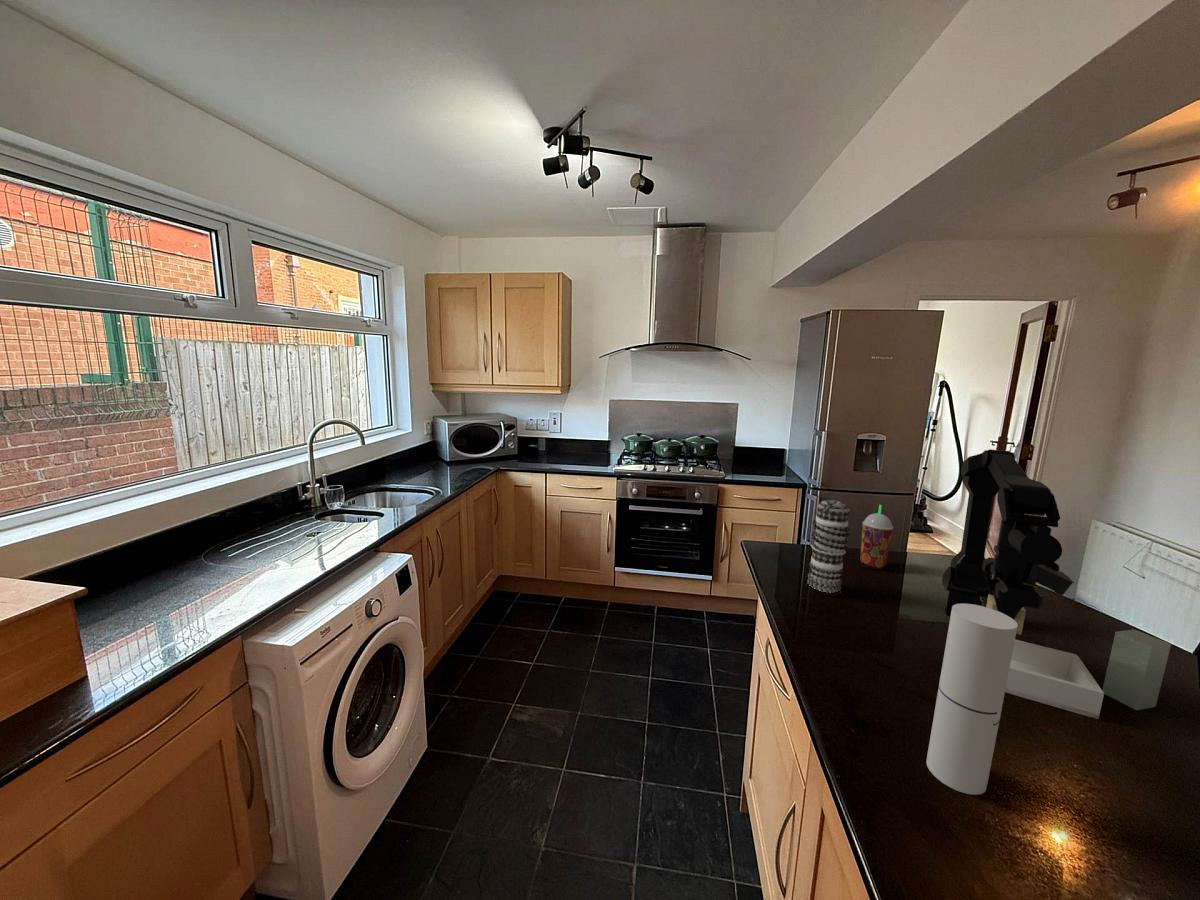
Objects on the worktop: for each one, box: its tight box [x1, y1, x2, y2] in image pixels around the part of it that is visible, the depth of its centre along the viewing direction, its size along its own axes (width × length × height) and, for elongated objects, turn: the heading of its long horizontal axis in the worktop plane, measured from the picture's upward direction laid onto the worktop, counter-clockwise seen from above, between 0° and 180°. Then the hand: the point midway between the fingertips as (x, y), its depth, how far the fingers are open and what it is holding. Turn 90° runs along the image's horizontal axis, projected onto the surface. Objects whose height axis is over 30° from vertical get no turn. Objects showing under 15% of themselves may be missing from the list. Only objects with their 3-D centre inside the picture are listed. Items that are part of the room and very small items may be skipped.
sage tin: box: [1101, 628, 1172, 711], centre depth 87 cm, size 5×5×12 cm
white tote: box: [1005, 639, 1105, 720], centre depth 93 cm, size 18×14×5 cm
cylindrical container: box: [926, 604, 1018, 796], centre depth 68 cm, size 7×7×25 cm
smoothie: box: [859, 504, 894, 568], centre depth 147 cm, size 8×8×20 cm
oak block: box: [985, 593, 1027, 636], centre depth 95 cm, size 5×5×5 cm
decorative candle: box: [806, 499, 851, 593], centre depth 128 cm, size 9×9×25 cm
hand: (1002, 620), depth 95 cm, fingers closed on oak block, 5 cm apart
